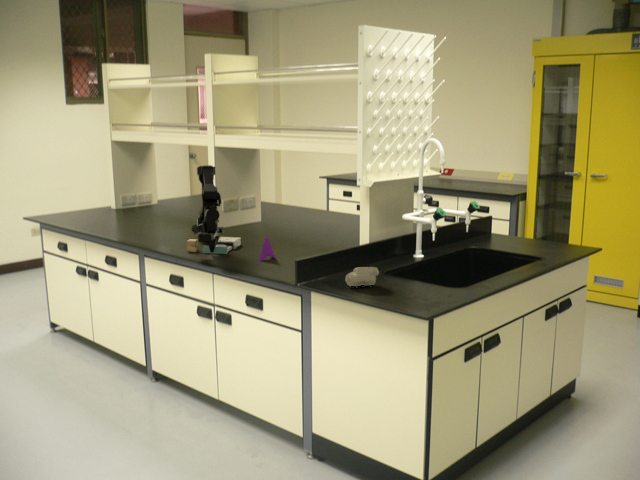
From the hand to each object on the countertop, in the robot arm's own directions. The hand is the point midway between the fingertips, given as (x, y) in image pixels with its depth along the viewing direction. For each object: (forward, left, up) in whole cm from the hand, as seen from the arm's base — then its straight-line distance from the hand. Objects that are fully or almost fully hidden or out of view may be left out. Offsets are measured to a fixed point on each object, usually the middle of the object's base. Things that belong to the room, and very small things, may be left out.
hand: (212, 252), depth 271 cm
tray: (-10, 0, -1) cm, 10 cm away
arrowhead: (+3, +26, -2) cm, 26 cm away
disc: (-9, 0, -1) cm, 9 cm away
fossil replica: (+38, +71, -2) cm, 80 cm away
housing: (-19, 0, -1) cm, 19 cm away
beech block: (-7, -12, -1) cm, 14 cm away
